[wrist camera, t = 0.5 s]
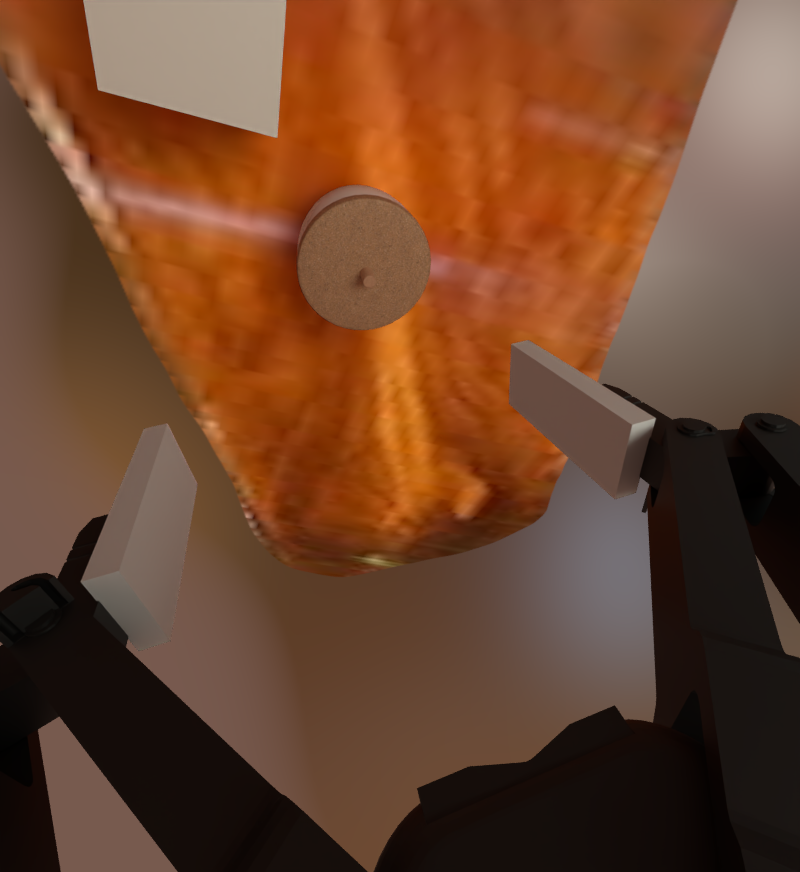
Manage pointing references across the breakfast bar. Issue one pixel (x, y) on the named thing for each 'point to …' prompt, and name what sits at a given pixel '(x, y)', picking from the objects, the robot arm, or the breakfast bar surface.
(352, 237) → the lidded jar
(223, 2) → the notched white block
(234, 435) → the breakfast bar surface
